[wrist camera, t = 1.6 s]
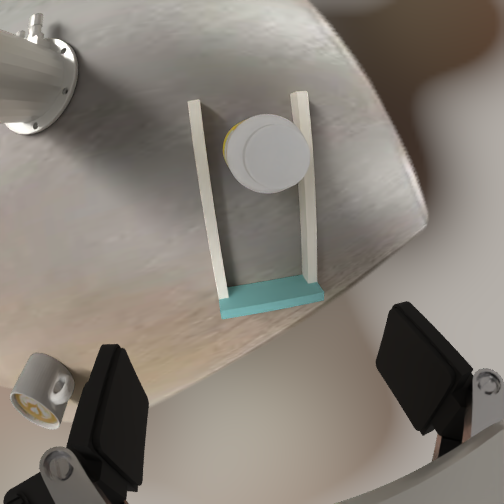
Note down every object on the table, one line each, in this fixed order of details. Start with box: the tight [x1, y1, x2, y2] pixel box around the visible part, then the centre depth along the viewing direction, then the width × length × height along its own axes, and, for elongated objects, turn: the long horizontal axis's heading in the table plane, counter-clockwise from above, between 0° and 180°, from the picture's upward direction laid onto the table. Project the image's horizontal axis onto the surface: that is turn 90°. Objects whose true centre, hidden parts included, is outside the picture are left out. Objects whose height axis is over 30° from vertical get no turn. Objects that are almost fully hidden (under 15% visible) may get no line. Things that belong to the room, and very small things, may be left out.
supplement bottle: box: [223, 114, 310, 194], centre depth 25 cm, size 7×7×13 cm
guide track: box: [188, 91, 324, 319], centre depth 31 cm, size 24×12×5 cm, turn 6°
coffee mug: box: [10, 353, 75, 429], centre depth 35 cm, size 13×10×10 cm
